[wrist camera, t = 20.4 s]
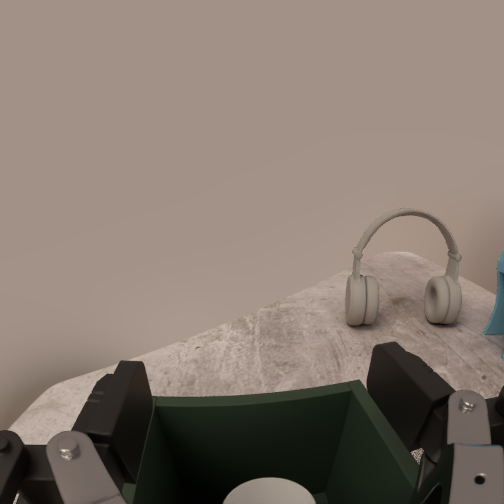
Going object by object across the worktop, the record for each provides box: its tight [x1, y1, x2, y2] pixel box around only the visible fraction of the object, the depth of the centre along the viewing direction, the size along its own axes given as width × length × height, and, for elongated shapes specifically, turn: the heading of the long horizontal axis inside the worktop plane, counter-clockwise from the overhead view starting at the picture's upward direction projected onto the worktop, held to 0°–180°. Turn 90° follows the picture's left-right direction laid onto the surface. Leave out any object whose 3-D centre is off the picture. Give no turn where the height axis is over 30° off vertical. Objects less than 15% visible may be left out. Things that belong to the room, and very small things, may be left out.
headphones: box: [345, 208, 462, 325], centre depth 43 cm, size 20×8×19 cm, turn 78°
